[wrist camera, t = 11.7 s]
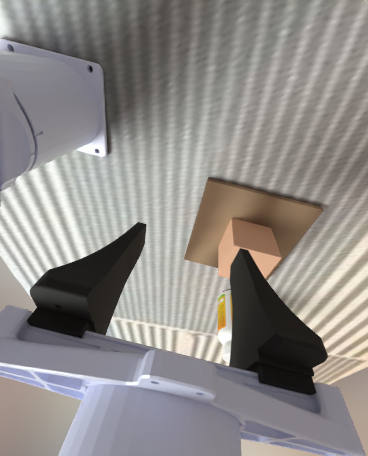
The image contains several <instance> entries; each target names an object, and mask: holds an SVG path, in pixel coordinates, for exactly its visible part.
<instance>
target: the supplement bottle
mask: <svg viewBox="0 0 368 456" xmlns="http://www.w3.org/2000/svg"><path fill="white" fill-rule="evenodd" d="M218 338H219V341H220V342H221V343H222V344H223V345H224V346H223V359H224V360H225V361H226V362H228V363H230V353H231V338H232V298H231V290H226V291H224V292H222V293H221V294H220V295H219V297H218Z"/></svg>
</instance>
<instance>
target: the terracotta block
mask: <svg viewBox="0 0 368 456" xmlns="http://www.w3.org/2000/svg"><path fill="white" fill-rule="evenodd" d="M240 248H242V249H246V250H248V251H249V252H250V254H251V256H252V258H253V259H254V261H255V263H256V265H257V266H258V268H259V270H260V271H261V273H262V275H263V276H264V278H265V279H266V277H267V276H268V275H269V274H270V272H271V271H272V270H273V268H274V267H275V266H276V265H277V263H278V262H279V261H280V260H281V258H282V257H281V254H280V251H279V248H278V246H277V243H276V240H275V237H274V234H273V232H272V229H271V228H269V227H265V226H262V225H258V224H254V223H250V222H246V221H242V220H238V219H234V218H231V220H230V222H229V224H228V226H227V229H226V231H225V233H224V235H223V238H222V240H221V242H220V244H219V246H218V276H222V277H226V278H230V266H231V264H232V262H233V260H234V258H235V257H236V255H237V253H238V251H239V249H240Z"/></svg>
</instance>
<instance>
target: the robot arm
mask: <svg viewBox="0 0 368 456" xmlns="http://www.w3.org/2000/svg"><path fill="white" fill-rule="evenodd" d="M11 46H12V47H13V49H14V52H13V51H12V48H11ZM90 66H92V68H93V72H92V73H91V71H90V69H89V68H90ZM96 149H98V150H99V152H97V150H96ZM74 150H77V151H81V152H85V153H89V154H93V155H97V156H101V157H105V156H106V155H107V135H106V116H105V97H104V78H103V69H102V67H101V66H100V65H99V64H98V63H94V62H90V61H86V60H82V59H79V58H75V57H71V56H67V55H63V54H59V53H56V52H52V51H48V50H44V49H40V48H36V47H32V46H29V45H25V44H21V43H17V42H13V41H9V40H6V39H2V38H0V191H2V190H4V189H6V188H8V187H10V186H12V185H14V184H15V180H16V178H17V177H18V176H20V175H22V174H24V173H26V172H29V171H31V170H33V169H35V168H37V167H39V166H41V165H44V164H46V163H48V162H50V161H52V160H54V159H57V158H59V157H61V156H63V155H65V154H67V153H70V152H72V151H74ZM0 206H1V195H0ZM145 234H146V224H144V223H140V222H138V223H136V224H135V225H134V226H133V227H132V228H131V229H129V230H128V231H127V232H126V233H124V234H123V235H122V236H120V237H119V238H118V239H116V240H115V241H113V242H112V243H110V244H109V245H107V246H105V247H104V248H102V249H100V250H98V251H97V252H95V253H93V254H91V255H89V256H86V257H84V258H82V259H79V260H77V261H74V262H72V263H69V264H66V265H63V266H60V267H56V268H53V269H50V270H48V271H47V272H46V273H45V274H44V275H43V276H42V277H41V278H40V279H39V280H38V281H37V282H36V283H35V285H34V286H33V287H32V288H31V289H30V295H31V297H32V299H33V301H34V302H35V304H36V306H37V308H36V310H35V311H34V312H33V313H32V312H31V311H29V310H27V309H23V308H19V307H15V306H11V305H7V306H6V307H5V308H4V309H3V310H2V311H1V312H0V376H2V377H6V378H10V379H13V380H17V381H20V382H24V383H27V384H31V385H34V386H37V387H40V388H44V389H47V390H50V391H53V392H57V393H60V394H63V395H66V396H70V397H73V398H76V399H80V400H82V402H81V404H80V406H79V409H78V411H77V413H76V416H75V418H74V420H73V422H72V425H71V427H70V429H69V432H68V434H67V437H66V439H65V441H64V443H63V446H62V448H61V450H60V453H59V455H58V456H241V440H240V439H245V440H250V441H255V442H261V443H265V444H271V445H276V446H281V447H286V448H291V449H296V450H300V451H306V452H310V453H314V454H318V455H323V456H365V455H366V454H365V452H364V449H363V447H362V444H361V441H360V439H359V436H358V434H357V431H356V429H355V426H354V424H353V421H352V418H351V416H350V414H349V411H348V408H347V406H346V403H345V401H344V398H343V396H342V393H341V391H340V388H338V387H335V386H331V385H327V384H323V383H313V380H312V376H314V372H313V369H312V368H313V367H315V366H317V365H319V364H321V363H323V362H324V361H326V359H327V358H328V355H327V352H326V349H325V347H324V344H323V342H322V340H321V338H320V337H319V336H318V335H317V334H316V333H315V332H313V331H312V330H311V329H310V328H309V327H308V326H306V325H305V324H304V323H303V322H302V321H301V320H300V319H299V318H298V317H297V316H296V315H295V314H294V313H293V312H292V311H291V310H290V309H289V308H288V307H287V306H286V305H285V304H284V302H283V301H282V300H281V299H280V298H279V297H278V295H277V294H276V293H275V292H274V290H273V289H272V288H271V286H270V285H269V283H268V282H267V281H266V279H265V278H264V276H263V275H262V273H261V271H260V270H259V268H258V266H257V265H256V263H255V261H254V259H253V258H252V256H251V254H250V252H249V251H248V250H246V249H242V248H240V249H239V251H238V253H237V255H236V257H235V258H234V260H233V262H232V264H231V266H230V286H231V298H232V338H231V353H230V364H229V366H226V365H222V364H218V363H214V362H210V361H206V360H202V359H198V358H194V357H190V356H186V355H182V354H178V353H174V352H170V351H166V350H162V349H158V348H154V347H150V346H146V345H142V344H138V343H134V342H130V341H126V340H122V339H118V338H114V337H110V336H106V332H107V329H108V326H109V324H110V321H111V318H112V316H113V313H114V310H115V308H116V305H117V303H118V300H119V298H120V295H121V293H122V290H123V288H124V285H125V283H126V281H127V279H128V277H129V275H130V273H131V272H132V270H133V268H134V266H135V264H136V262H137V260H138V258H139V257H140V254H141V252H142V249H143V247H144V244H145Z"/></svg>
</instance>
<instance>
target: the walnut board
mask: <svg viewBox="0 0 368 456" xmlns="http://www.w3.org/2000/svg"><path fill="white" fill-rule="evenodd" d="M322 211H323V209H322V208H321V207H320V206H317V205H313V204H309V203H305V202H301V201H297V200H294V199H290V198H286V197H282V196H278V195H274V194H270V193H266V192H262V191H258V190H255V189H251V188H247V187H243V186H239V185H235V184H231V183H227V182H223V181H219V180H216V179H212V178H208V181H207V184H206V187H205V191H204V194H203V197H202V201H201V204H200V207H199V211H198V214H197V217H196V221H195V224H194V227H193V231H192V234H191V237H190V241H189V244H188V247H187V251H186V254H185V258H184V259H185V260H189V261H193V262H197V263H201V264H205V265H209V266H213V267H217V268H218V246H219V244H220V242H221V240H222V238H223V235H224V233H225V231H226V229H227V226H228V224H229V222H230V220H231V218H234V219H238V220H242V221H246V222H250V223H254V224H258V225H262V226H265V227H269V228H271V229H272V232H273V234H274V237H275V240H276V243H277V246H278V248H279V251H280V254H281V257H282V258H281V260H280V261H279V262H278V263H277V265H276V266H275V267H274V268H273V270H272V271H271V272H270V274H269V275H268V276H267V277H266V280H268V279H269V278H270V276H271V275H272V274H273V273H274V271H275V270H276V269H277V268H278V266H279V265H280V264H281V263H282V261H283V260H284V259H285V258H286V256H287V255H288V254H289V253H290V251H291V250H292V249H293V248H294V246H295V245H296V244H297V243H298V241H299V240H300V239H301V238H302V236H303V235H304V234H305V233H306V231H307V230H308V229H309V228H310V226H311V225H312V224H313V223H314V221H315V220H316V219H317V218H318V216H319V215H320V214H321V213H322Z"/></svg>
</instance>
